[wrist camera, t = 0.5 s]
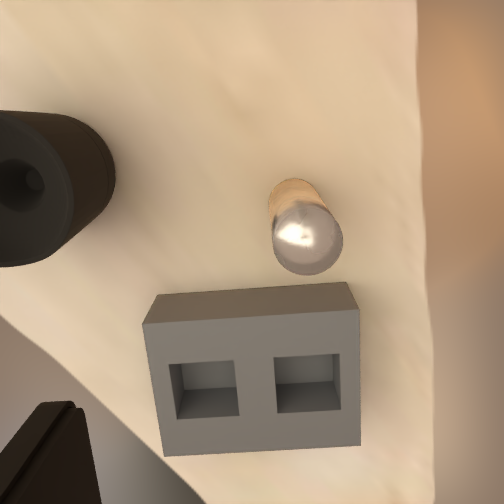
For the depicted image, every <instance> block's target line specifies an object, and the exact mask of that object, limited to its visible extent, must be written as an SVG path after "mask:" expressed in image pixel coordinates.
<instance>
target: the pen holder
mask: <svg viewBox="0 0 504 504" xmlns="http://www.w3.org/2000/svg"><path fill="white" fill-rule="evenodd" d="M114 187H115V167H114V162H113V159H112V156H111V154H110V151H109V149H108V148H107V146H106V144H105V143H104V141H103V140H102V139H101V137H100V136H99V135H98V134H97V133H96V132H95V131H94V130H93V129H91V128H90V127H89V126H87V125H86V124H84V123H83V122H81V121H79V120H77V119H74V118H72V117H69V116H64V115H59V114H50V113H38V112H21V111H5V110H0V267H14V266H21V265H26V264H31V263H35V262H38V261H41V260H43V259H45V258H47V257H49V256H51V255H52V254H53V253H55V252H56V251H57V250H58V249H60V248H61V247H62V246H63V245H64V244H66V243H67V242H68V241H69V240H70V239H71V238H73V237H74V236H75V235H76V234H77V233H79V232H80V231H81V230H82V229H83V228H85V227H86V226H87V225H88V224H89V223H90V222H91V221H92V220H94V219H95V218H96V217H97V216H98V215H99V214H100V213H101V212H102V211H103V210H104V208H105V207H106V206H107V204H108V203H109V201H110V199H111V197H112V194H113V191H114Z"/></svg>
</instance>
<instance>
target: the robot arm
mask: <svg viewBox="0 0 504 504" xmlns="http://www.w3.org/2000/svg"><path fill="white" fill-rule="evenodd" d="M0 504H102V503H101V497H100V492H99V486H98V481H97V476H96V471H95V465H94V460H93V455H92V449H91V445H90V439H89V434H88V428H87V423H86V418H85V413H84V411H83V409H82V408H76V406H75V404H74V402H72V401H55V402H43V403H40V404H39V405H38V406H37V407H36V409H35V410H34V411H33V413H32V414H31V415H30V416H29V417H28V419H27V420H26V421H25V423H24V424H23V425H22V426H21V428H20V429H19V430H18V431H17V433H16V434H15V435H14V437H13V438H12V439H11V440H10V442H9V443H8V444H7V445H6V447H5V448H4V449H3V450H2V452H1V453H0Z"/></svg>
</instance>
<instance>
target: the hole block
mask: <svg viewBox="0 0 504 504" xmlns="http://www.w3.org/2000/svg"><path fill="white" fill-rule="evenodd" d="M142 327H143V333H144V339H145V345H146V351H147V357H148V363H149V369H150V375H151V381H152V387H153V393H154V399H155V405H156V411H157V417H158V423H159V429H160V435H161V441H162V447H163V453H164V457H168V456H186V455H203V454H221V453H239V452H257V451H275V450H292V449H310V448H328V447H346V446H361V411H360V318H359V308H358V306H357V304H356V302H355V300H354V298H353V296H352V294H351V292H350V290H349V288H348V285H347V283H346V282H339V283H324V284H310V285H295V286H281V287H266V288H252V289H237V290H223V291H208V292H194V293H180V294H165V295H157V297H156V299H155V301H154V303H153V304H152V306H151V308H150V310H149V312H148V314H147V316H146V318H145V319H144V321H143V323H142Z"/></svg>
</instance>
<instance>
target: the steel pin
mask: <svg viewBox="0 0 504 504" xmlns="http://www.w3.org/2000/svg"><path fill="white" fill-rule="evenodd" d="M269 212H270V222H271V231H272V241H273V249H274V253H275V255H276V258H277V259H278V261H279V262H280V264H281V265H282V266H283V267H284V268H286V269H287V270H289V271H291V272H293V273H295V274H299V275H315V274H319V273H321V272H323V271H325V270H327V269H328V268H330V267H331V266H332V265H333V264H334V263H335V262H336V260H337V259H338V257H339V255H340V253H341V250H342V246H343V235H342V231H341V229H340V226H339V225H338V223H337V221H336V220H335V219H334V217H333V216H332V214H331V213H330V211H329V210H328V208H327V207H326V205H325V204H324V202H323V201H322V199H321V198H320V196H319V195H318V193H317V192H316V190H315V189H314V188H313V187H312V186H311V185H310V184H309V183H308V182H306V181H304V180H300V179H288V180H285V181H283V182H281V183H280V184H278V185H277V186H276V187H275V188H274V190H273V191H272V193H271V195H270V198H269Z"/></svg>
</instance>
